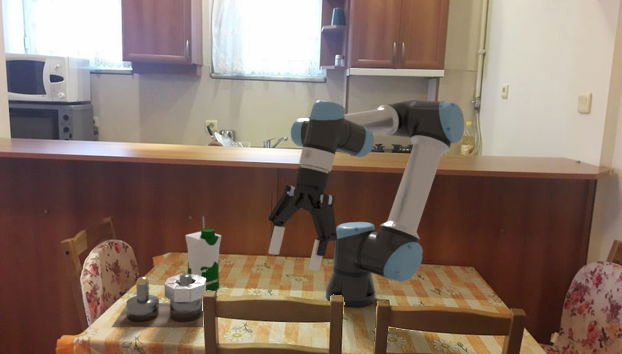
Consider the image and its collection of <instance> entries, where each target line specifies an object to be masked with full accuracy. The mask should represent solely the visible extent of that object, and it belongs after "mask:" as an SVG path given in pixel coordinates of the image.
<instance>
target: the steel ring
mask: <svg viewBox="0 0 622 354" xmlns="http://www.w3.org/2000/svg"><path fill="white" fill-rule="evenodd" d="M182 274H183V273H180V274H177V275H174V276H170V277H168V278H166V281H165V283H164V298H166V299H168V300H169V301H170V300H171V301H173V302H192V301H195V300H198V299H201V300H202V299H203V298H204V297H203V294H204V292H205V291H206V278H204V277H201V276H199V275H196V274H191V275H192V284H190V285H180V275H182ZM202 297H203V298H202Z"/></svg>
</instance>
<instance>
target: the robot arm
mask: <svg viewBox="0 0 622 354" xmlns="http://www.w3.org/2000/svg"><path fill="white" fill-rule="evenodd" d="M464 130H465V118H464V113H463V111H462V109H461V107H460V105H458V103H456V102H450V101H445V100H441V101H440V100H439V101H435V100H417V99H415V100H414V99H410V100H409V99H408V100H402V101H399V102H397V101H396V102H393V103H388V104H383V105H379V106H378V107H377V108H375V109H373V110H372V109H371V110H365V111H357V112H352V113H346V109H345V107H344V106H343V105H342V104H339V103H337V102H334V101H329V100H317V101H315V102H314V103H313V105H312V107H311V111H310V113H309V117H306V118H297V119H296V120H295V121H294V122H293V123H292V125H291V128H290V137H291V138H290V139H291V141H292V142H293V143H294V145H296V146H298V147H302V148H301V154H300V158H299V161H298V162H299V163H298V164H299V165H300V166H299V167H298V168H297V171H296V175H295V178H294V182H295V183H296V186H292V185H289V184H286V185H285V187H284V190H283V193H282V195H281V197H279V200H278V201H277V203H276V205H275V206H274V208H273V210H272V211H271V212H270V214H269V216H268V219H267V220H268V221H270V222H271V223H272V225H273V226H272V230H271V234H270V238H271V239H270V242H269V243H270V244H269V248H268V252H267V253H268V254H270V255H280V251H281V247H282V243H283V239H284V234H285V229H286V227H285V224H286V223H287V221H289V220H290V219H291V218H292V217H293V216H294V215H295V214H296V212H298V211H299V210H304V211H308V213H310V216H311V217H312V221H313V224H314V225H313V226H314V228H315V230H316V231H315V232H316V235H317V238H316V239H314V243H313V247H312V251H311V257H310V261H309V266H308V269H307V270H309V271H315V272H316V271H319V272H320V269H321V265H322V261H323V257H325V255H326V252H327V248H328V245H329V242H331V241H333V263H332V264H333V265H332V272H331V275H330V278H329V280H328V283H327V285H326V289H325V297H326V299H327V300H328V301H330V296H331V295H333V294H334V295H342V296H343V297H344V302H345V306H344V307H348V306H350V307H349V308H359V307H360V308H361V307H366V306H369V305H372V304H373V303H374V302H375V301H376V289H375V284H374V281H373V276H372V274H374V275H377V276H380V277H383V278H385V279H388V281H391V280H392V281H396V282H399V283H401V282H402V283H403V282H407V281H409V280H410V279H411V278H412V277H414V276H415V274H417V271H419V269H420V267H421V263H422V261H423V253H424V252H423V247H422V246H421V244H420V243H419V242H420V237H419V234H418V232H417V231H418V228H419V224H420V222H421V218H422V215H423V213H424V209H425V206H426V204H427V202H428V201H427V200H428V197H429V194H430V192H431V188H432V185H433V182H434V179H435V177H436V173H437V171H438V167H439V164H440V161H441V158H442V156H443V154H445V153H448V152H449V151H450V148H451V145H452V144H457V143H459V142H460V141H461V140H462V138H463V135H464V132H465V131H464ZM375 136H382V137H385V138H386V137H393V136H394V137H401V138H409V140H410V142H411V144H412V149H411V151H410V154H409V158H408V160H407V164H406V166H405V169H404V172H403V174H402V178H401V181H400V183H399V186H398V189H397V192H396V195H395V198H394V201H393V203H392V204H393V205H392V206H391V207H392V208H391V210H390V212H389V216H388V218H387V221H385V222H384V223H381V224H380V225H379V228H378V230H377V231H378V232H377V231H375V229H376V227H375V225H374V224H373V223H371V222H365V221H353V222H346V223H344V222H343V223H341V224H339V225H336V217H335V209H334V205H335V204H334V203H335V196H334V195H332V194H328V193H325V190H327V189H328V187H329V181H330V178H331V175H330V173H329V172H332V169H333V164H334V162H335V155H336V153H341V154H346V155H349V156H350V157H355V158H356V157H357V158H363V157H366V156H367V155H368V154H369V153H371V151H372V150H373V148H374V144H375Z"/></svg>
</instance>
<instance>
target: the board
mask: <svg viewBox="0 0 622 354" xmlns="http://www.w3.org/2000/svg"><path fill="white" fill-rule="evenodd" d="M111 328H204V327H203V311H202V302H201V316H200V318H198V319H197V320H194V321H191V322H176V321H173V320H172V319H171V318H170V302H169V303H168V302H166V303H165V302H159V315H158V317H157V318H155V319H153V320H150V321H147V322H132V321H130V320H128V319H127V304H126V305H125V306H124V308H123V309H122V311H121V312H120V313H119V315H118V317H117V319H115V321H114V322H113V324H112V326H111Z"/></svg>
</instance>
